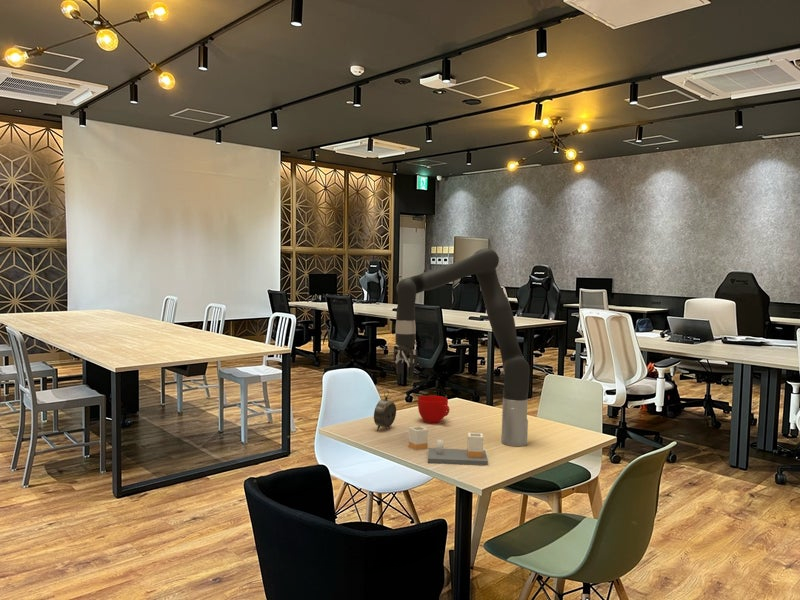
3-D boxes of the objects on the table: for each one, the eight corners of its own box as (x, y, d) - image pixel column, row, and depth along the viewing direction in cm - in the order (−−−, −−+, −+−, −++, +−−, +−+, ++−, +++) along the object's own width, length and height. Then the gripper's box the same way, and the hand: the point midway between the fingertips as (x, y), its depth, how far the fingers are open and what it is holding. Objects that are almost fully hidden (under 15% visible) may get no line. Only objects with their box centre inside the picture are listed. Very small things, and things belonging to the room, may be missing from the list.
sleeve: (419, 444, 218) (420, 426, 218) (427, 448, 214) (427, 429, 213) (408, 446, 215) (408, 427, 215) (415, 450, 211) (416, 431, 211)
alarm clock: (387, 425, 244) (388, 386, 244) (398, 427, 242) (399, 388, 241) (372, 431, 235) (373, 391, 234) (383, 433, 232) (384, 392, 232)
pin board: (485, 454, 208) (485, 430, 208) (487, 465, 196) (488, 440, 196) (428, 452, 209) (429, 428, 209) (427, 462, 197) (428, 437, 197)
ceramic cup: (436, 429, 240) (436, 405, 240) (411, 420, 254) (411, 397, 254) (459, 425, 248) (460, 401, 248) (434, 416, 262) (434, 394, 261)
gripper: (424, 333, 216) (423, 377, 216) (404, 330, 228) (404, 371, 229) (406, 334, 212) (405, 379, 213) (387, 330, 224) (387, 373, 225)
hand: (404, 375), depth 221 cm, fingers open, 8 cm apart
